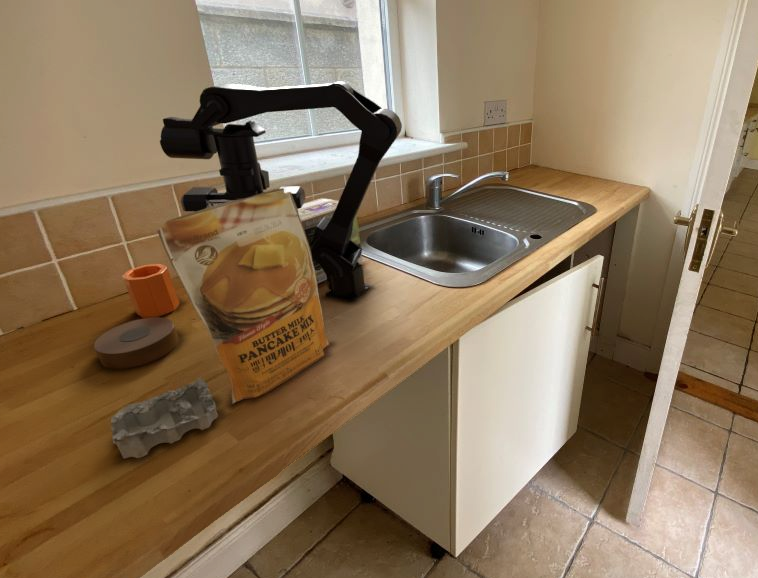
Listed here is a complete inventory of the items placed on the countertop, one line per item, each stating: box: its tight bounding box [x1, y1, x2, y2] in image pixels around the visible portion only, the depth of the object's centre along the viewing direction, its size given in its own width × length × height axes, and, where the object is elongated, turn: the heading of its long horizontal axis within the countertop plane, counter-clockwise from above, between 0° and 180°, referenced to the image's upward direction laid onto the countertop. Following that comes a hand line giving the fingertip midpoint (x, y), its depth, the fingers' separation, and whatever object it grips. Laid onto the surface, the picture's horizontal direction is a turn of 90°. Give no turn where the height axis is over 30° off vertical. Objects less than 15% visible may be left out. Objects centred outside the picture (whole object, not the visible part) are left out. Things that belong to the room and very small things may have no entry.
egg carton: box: [110, 377, 219, 459], centre depth 59 cm, size 11×8×4 cm
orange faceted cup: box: [121, 263, 181, 319], centre depth 83 cm, size 6×6×8 cm
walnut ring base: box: [93, 316, 180, 370], centre depth 73 cm, size 10×10×3 cm
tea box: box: [298, 197, 363, 285], centre depth 97 cm, size 15×10×15 cm
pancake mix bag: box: [156, 188, 330, 404], centre depth 65 cm, size 7×19×28 cm, turn 152°
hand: (255, 240), depth 86 cm, fingers open, 9 cm apart
